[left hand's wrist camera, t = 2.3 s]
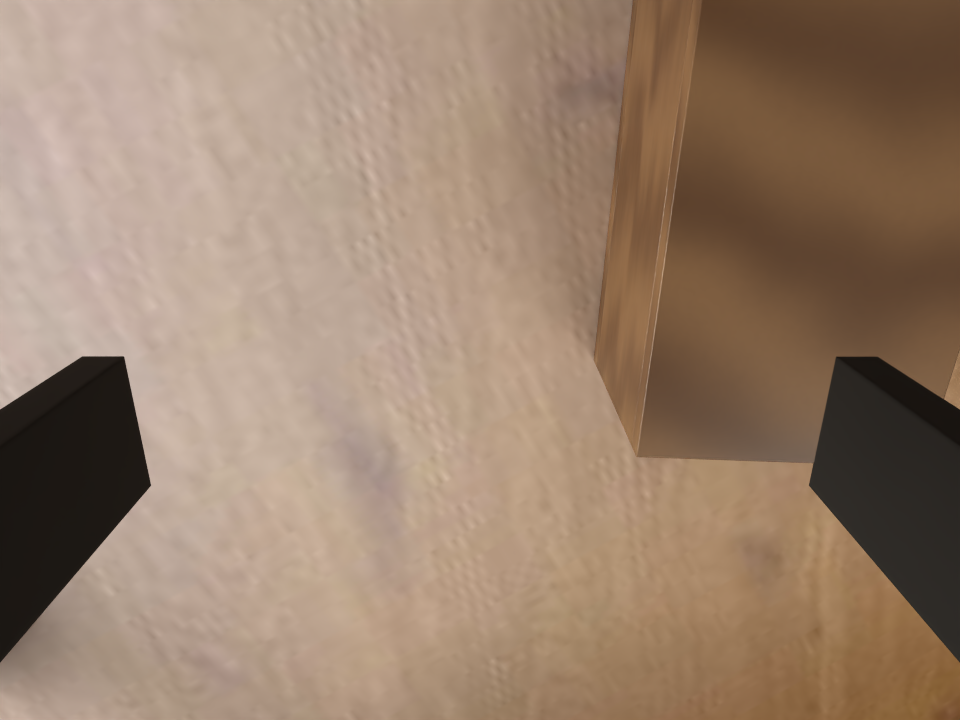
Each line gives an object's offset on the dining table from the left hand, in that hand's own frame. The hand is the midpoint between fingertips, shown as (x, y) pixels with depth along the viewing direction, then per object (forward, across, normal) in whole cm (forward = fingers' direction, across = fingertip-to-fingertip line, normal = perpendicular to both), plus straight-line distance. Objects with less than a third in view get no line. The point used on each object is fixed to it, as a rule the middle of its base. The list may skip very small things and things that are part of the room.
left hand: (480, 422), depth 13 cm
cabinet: (+22, -12, -1) cm, 25 cm away
